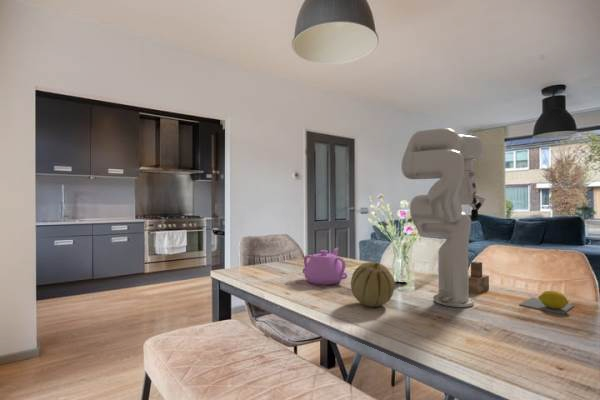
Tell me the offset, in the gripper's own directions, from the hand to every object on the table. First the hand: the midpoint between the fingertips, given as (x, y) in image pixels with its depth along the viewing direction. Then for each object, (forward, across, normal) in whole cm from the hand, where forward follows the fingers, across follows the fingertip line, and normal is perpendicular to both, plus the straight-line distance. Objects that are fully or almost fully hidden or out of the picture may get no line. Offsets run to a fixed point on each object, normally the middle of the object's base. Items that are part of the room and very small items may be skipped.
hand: (462, 219), depth 137 cm
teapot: (+28, +45, +32) cm, 62 cm away
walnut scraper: (+28, -4, -4) cm, 28 cm away
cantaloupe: (+29, +8, +43) cm, 52 cm away
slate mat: (+28, -28, -2) cm, 39 cm away
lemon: (+25, -26, 0) cm, 36 cm away
